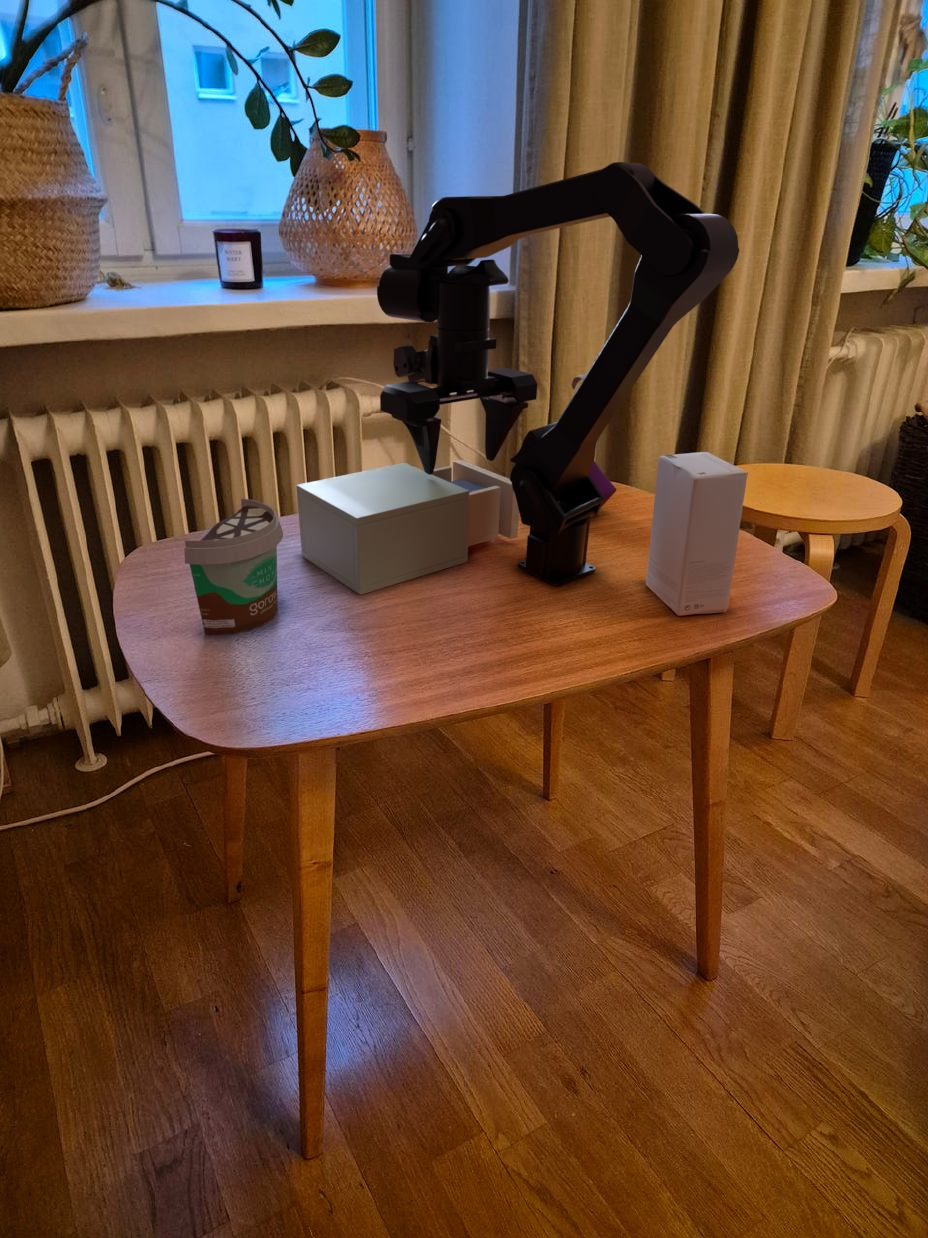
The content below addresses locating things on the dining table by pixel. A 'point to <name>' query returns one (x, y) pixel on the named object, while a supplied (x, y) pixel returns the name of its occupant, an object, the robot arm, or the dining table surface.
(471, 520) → the tray
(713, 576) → the cosmetic box
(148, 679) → the dining table surface
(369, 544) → the grey storage box
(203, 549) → the food container
